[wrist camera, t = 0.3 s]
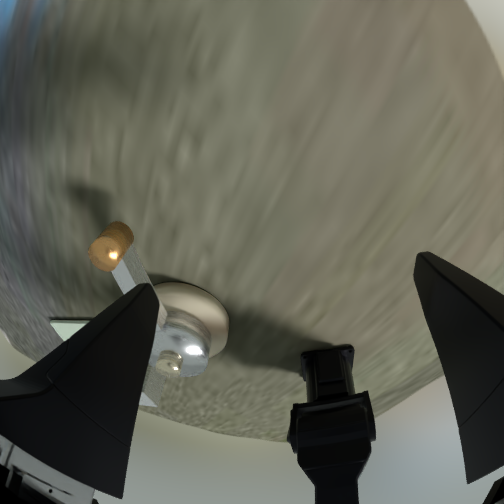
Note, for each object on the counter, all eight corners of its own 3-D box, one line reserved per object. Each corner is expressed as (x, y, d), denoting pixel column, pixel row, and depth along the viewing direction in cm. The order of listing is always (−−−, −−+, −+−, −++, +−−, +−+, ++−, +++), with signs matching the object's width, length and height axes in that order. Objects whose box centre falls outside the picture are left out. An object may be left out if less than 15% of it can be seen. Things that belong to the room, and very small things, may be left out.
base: (239, 344, 31) (237, 358, 30) (162, 346, 33) (158, 358, 31) (214, 277, 26) (210, 291, 24) (126, 286, 28) (118, 299, 26)
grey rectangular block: (167, 371, 37) (157, 406, 32) (144, 370, 37) (133, 403, 32) (155, 355, 34) (143, 392, 30) (132, 354, 35) (118, 389, 30)
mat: (137, 373, 38) (135, 376, 38) (91, 368, 40) (90, 371, 39) (95, 320, 32) (94, 323, 31) (51, 319, 33) (49, 322, 33)
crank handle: (220, 353, 29) (214, 390, 25) (162, 354, 30) (152, 387, 26) (157, 206, 20) (132, 239, 16) (88, 223, 21) (59, 254, 17)
